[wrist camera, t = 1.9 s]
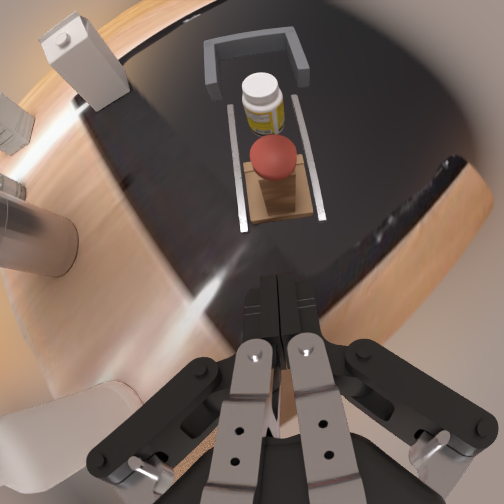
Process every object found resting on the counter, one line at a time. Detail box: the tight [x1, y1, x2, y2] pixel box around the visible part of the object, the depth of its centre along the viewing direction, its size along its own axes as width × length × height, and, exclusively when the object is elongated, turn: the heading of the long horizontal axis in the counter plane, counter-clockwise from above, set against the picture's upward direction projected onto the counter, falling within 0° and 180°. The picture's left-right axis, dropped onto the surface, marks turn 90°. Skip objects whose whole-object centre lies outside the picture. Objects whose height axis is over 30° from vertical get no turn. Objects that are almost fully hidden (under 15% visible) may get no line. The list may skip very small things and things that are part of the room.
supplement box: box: [0, 93, 35, 156], centre depth 39 cm, size 7×7×13 cm
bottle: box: [0, 381, 142, 493], centre depth 18 cm, size 8×8×30 cm
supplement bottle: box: [242, 73, 285, 137], centre depth 32 cm, size 5×5×8 cm
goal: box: [204, 27, 310, 101], centre depth 37 cm, size 14×11×4 cm
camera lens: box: [0, 174, 26, 201], centre depth 38 cm, size 6×6×8 cm
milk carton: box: [38, 11, 130, 112], centre depth 33 cm, size 7×7×19 cm
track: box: [227, 95, 326, 234], centre depth 35 cm, size 10×18×1 cm, turn 7°
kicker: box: [243, 134, 313, 225], centre depth 28 cm, size 7×7×13 cm
